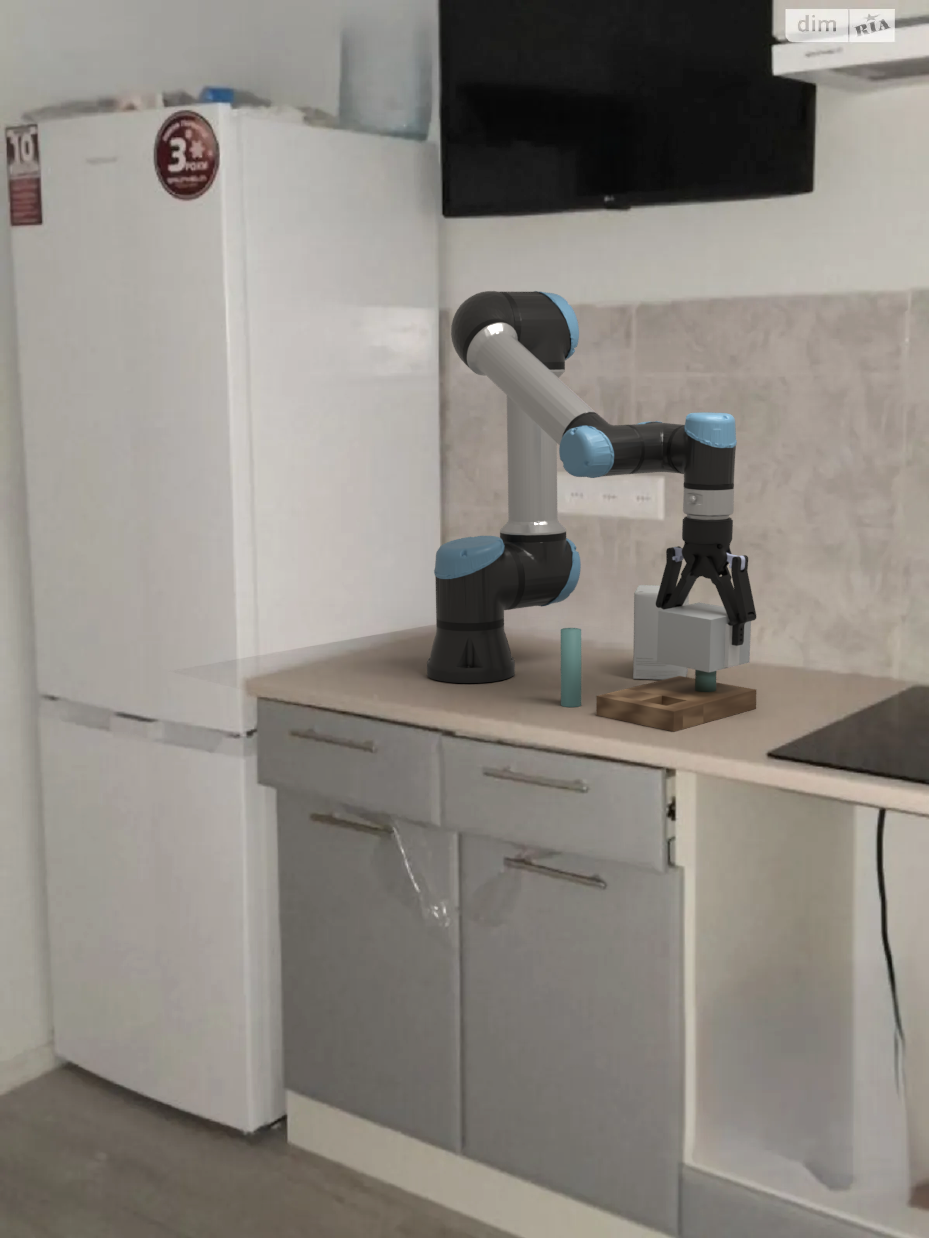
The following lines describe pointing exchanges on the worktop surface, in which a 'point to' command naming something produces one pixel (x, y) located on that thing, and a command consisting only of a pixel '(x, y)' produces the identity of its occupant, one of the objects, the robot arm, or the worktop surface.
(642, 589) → the supplement box
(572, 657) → the peg
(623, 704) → the board
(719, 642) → the grey square block
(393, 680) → the worktop surface
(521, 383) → the robot arm
